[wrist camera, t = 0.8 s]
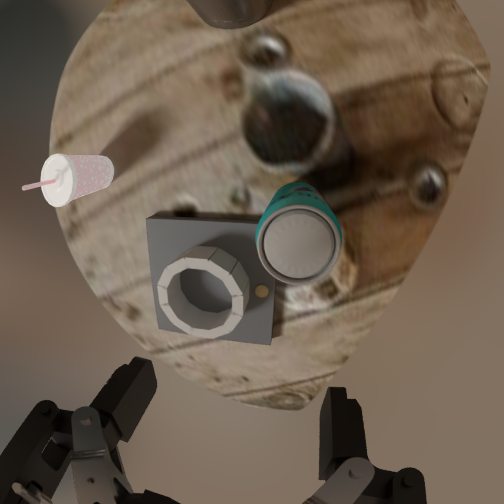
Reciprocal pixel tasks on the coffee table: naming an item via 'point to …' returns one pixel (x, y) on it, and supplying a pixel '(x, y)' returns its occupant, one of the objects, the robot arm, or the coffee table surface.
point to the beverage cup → (73, 177)
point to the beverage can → (298, 235)
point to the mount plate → (210, 279)
